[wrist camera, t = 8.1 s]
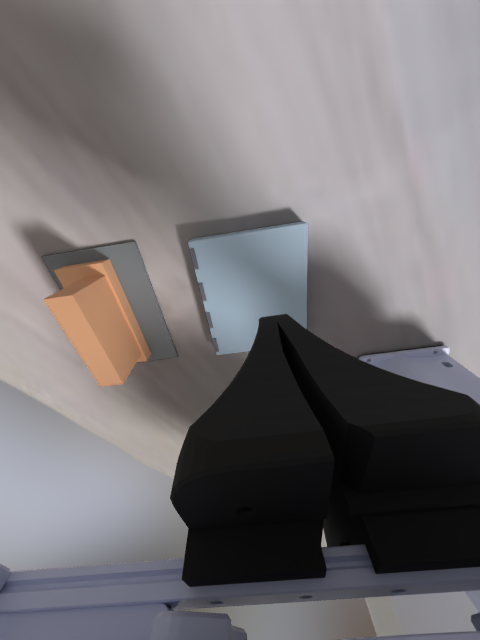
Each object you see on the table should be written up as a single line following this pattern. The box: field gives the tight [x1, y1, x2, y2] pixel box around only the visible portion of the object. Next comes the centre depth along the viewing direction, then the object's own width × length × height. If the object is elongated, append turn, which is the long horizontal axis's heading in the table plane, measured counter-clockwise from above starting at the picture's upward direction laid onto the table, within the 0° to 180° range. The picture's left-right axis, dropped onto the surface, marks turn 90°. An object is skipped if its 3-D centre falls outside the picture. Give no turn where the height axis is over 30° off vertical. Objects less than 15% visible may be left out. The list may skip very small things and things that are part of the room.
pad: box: [41, 241, 178, 362], centre depth 21 cm, size 8×12×1 cm, turn 8°
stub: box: [43, 259, 151, 387], centre depth 18 cm, size 4×10×5 cm, turn 8°
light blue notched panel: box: [188, 221, 308, 355], centre depth 19 cm, size 9×11×2 cm
